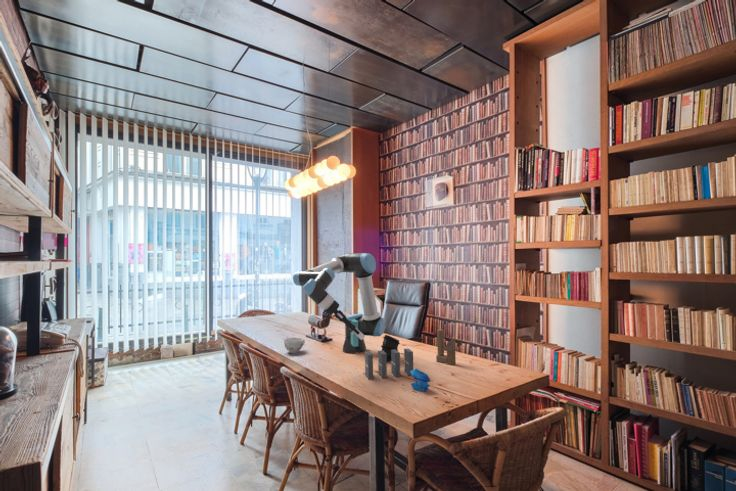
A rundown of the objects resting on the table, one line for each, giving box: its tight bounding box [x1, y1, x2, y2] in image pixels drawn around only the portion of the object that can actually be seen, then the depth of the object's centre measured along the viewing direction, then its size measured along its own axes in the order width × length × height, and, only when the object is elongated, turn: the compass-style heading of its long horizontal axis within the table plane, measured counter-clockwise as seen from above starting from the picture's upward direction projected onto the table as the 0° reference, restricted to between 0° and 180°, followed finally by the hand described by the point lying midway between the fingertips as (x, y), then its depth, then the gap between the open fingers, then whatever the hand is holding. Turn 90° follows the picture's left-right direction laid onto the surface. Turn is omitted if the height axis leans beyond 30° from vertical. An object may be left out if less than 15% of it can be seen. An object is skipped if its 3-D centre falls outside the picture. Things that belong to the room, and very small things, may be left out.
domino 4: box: [403, 348, 414, 377], centre depth 188 cm, size 2×7×12 cm, turn 13°
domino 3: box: [390, 349, 401, 378], centre depth 187 cm, size 2×7×12 cm, turn 13°
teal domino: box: [351, 319, 358, 347], centre depth 182 cm, size 2×7×12 cm, turn 13°
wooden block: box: [435, 329, 457, 366], centre depth 207 cm, size 4×11×18 cm, turn 43°
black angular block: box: [380, 334, 401, 363], centre depth 213 cm, size 4×13×15 cm, turn 135°
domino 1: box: [364, 350, 374, 381], centre depth 184 cm, size 2×7×12 cm, turn 13°
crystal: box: [410, 368, 432, 392], centre depth 166 cm, size 7×9×12 cm
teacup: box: [283, 337, 306, 354], centre depth 235 cm, size 15×12×8 cm
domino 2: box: [377, 349, 388, 379], centre depth 185 cm, size 2×7×12 cm, turn 13°
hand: (361, 336), depth 183 cm, fingers closed on teal domino, 7 cm apart
